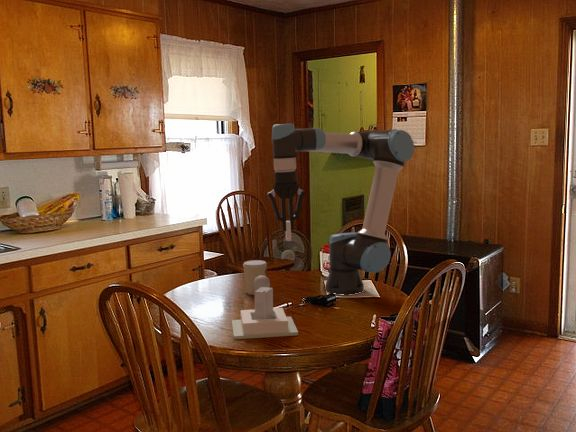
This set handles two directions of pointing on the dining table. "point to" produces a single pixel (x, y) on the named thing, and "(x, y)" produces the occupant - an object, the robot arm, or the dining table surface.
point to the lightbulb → (261, 282)
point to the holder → (263, 325)
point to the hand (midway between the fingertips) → (288, 240)
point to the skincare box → (264, 303)
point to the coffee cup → (253, 273)
